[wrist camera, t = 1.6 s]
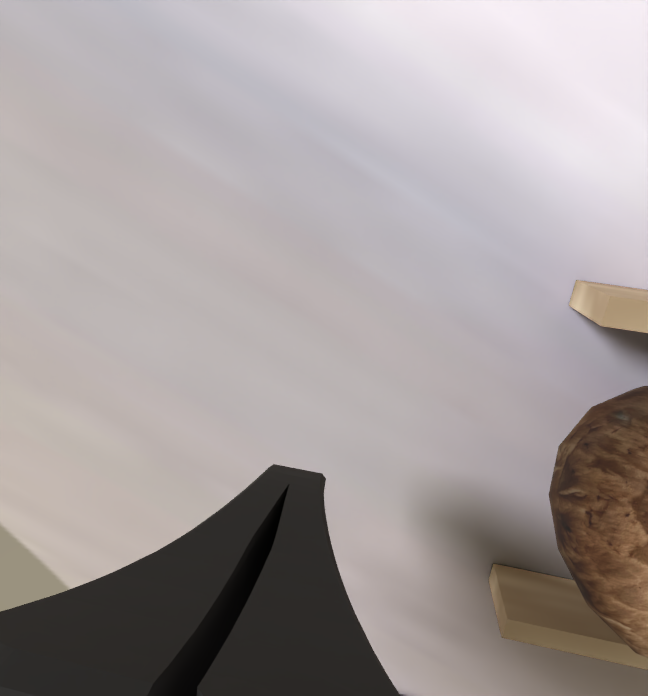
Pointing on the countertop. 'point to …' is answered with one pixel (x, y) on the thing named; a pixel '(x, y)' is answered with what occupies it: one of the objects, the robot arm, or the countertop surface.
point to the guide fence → (555, 592)
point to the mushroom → (607, 512)
